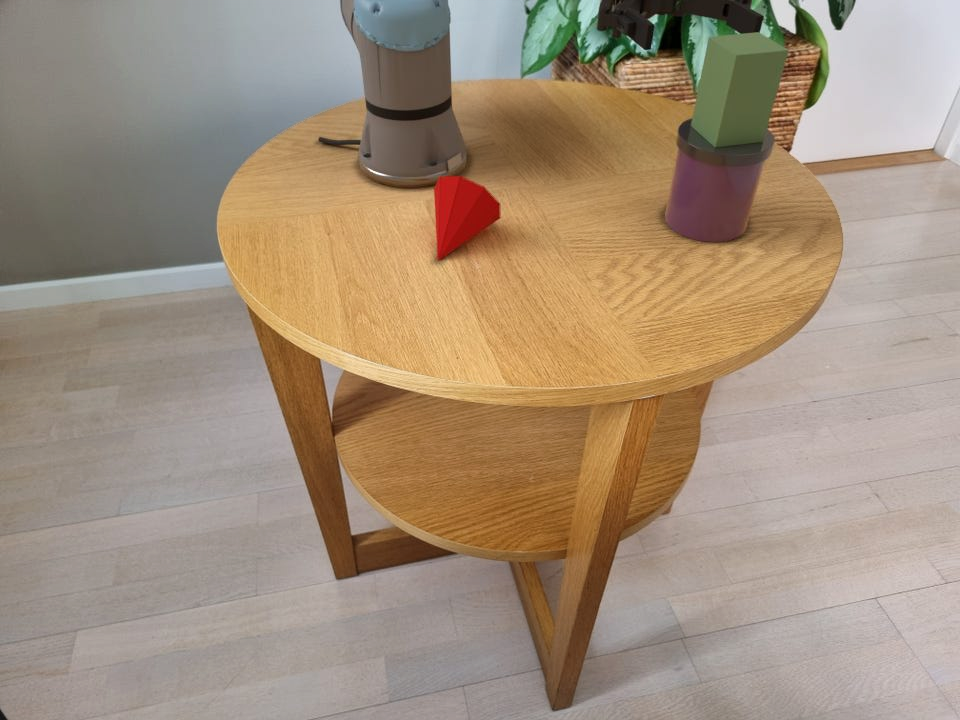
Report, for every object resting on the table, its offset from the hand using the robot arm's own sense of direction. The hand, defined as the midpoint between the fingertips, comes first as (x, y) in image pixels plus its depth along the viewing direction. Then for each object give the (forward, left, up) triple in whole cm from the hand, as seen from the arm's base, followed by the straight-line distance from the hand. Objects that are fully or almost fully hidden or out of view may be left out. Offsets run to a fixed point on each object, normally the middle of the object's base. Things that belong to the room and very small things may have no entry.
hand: (704, 33), depth 81 cm
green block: (+4, -7, -9) cm, 12 cm away
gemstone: (-24, -20, -20) cm, 37 cm away
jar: (+4, -7, -20) cm, 22 cm away
